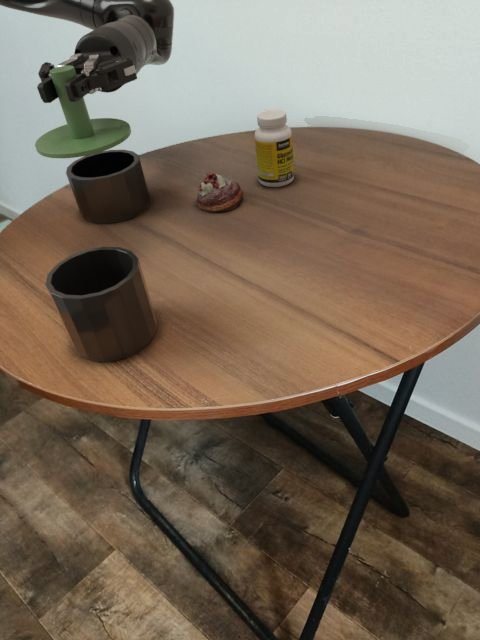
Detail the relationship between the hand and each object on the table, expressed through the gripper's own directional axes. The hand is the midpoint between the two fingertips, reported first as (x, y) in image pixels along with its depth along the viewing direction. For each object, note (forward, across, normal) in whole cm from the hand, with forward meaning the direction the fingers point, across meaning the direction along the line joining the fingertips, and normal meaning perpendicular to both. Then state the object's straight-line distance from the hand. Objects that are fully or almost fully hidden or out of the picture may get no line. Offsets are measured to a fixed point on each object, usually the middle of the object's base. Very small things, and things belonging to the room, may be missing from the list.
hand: (56, 93), depth 63 cm
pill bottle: (-23, -21, -22) cm, 39 cm away
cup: (+19, -9, -22) cm, 30 cm away
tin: (-13, +5, -22) cm, 26 cm away
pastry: (-15, -13, -22) cm, 30 cm away
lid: (-3, 0, -7) cm, 7 cm away
